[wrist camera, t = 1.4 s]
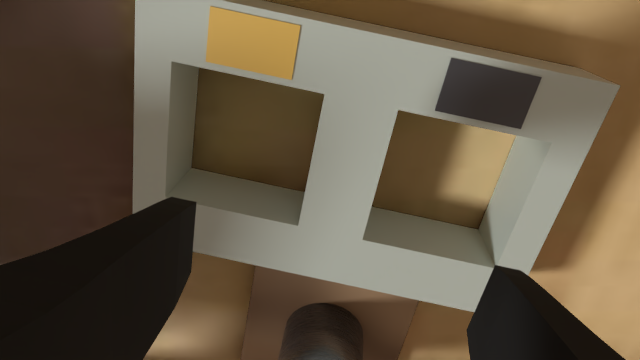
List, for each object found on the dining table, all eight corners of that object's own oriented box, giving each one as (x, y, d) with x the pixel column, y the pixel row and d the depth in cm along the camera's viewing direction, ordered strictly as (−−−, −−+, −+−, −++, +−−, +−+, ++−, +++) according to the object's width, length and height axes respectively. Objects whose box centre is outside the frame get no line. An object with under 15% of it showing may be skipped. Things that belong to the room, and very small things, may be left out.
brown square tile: (380, 391, 25) (381, 403, 24) (242, 361, 25) (238, 372, 24) (421, 278, 22) (423, 289, 21) (260, 244, 22) (257, 253, 21)
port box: (488, 275, 21) (507, 320, 19) (161, 205, 21) (131, 239, 19) (579, 68, 17) (621, 86, 14) (172, -20, 17) (134, -19, 14)
